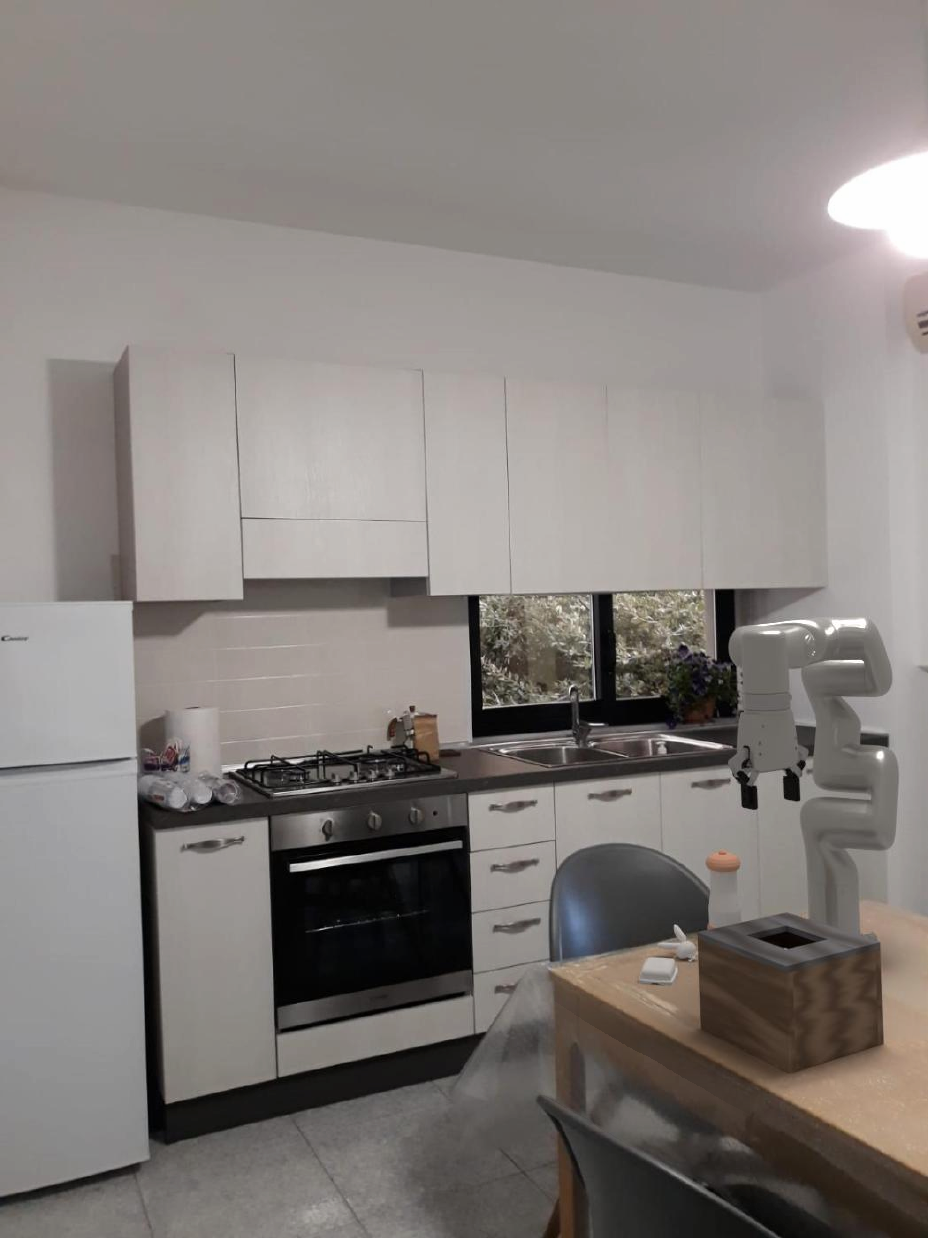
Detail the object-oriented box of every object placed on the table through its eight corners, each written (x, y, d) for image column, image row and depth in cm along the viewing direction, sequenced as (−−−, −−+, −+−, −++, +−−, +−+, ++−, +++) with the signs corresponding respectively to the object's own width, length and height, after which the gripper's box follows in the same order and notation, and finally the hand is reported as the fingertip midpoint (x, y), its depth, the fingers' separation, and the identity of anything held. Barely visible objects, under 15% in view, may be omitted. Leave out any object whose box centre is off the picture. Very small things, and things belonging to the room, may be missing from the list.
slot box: (789, 1003, 184) (786, 912, 183) (883, 1043, 166) (880, 942, 166) (700, 1028, 174) (697, 932, 174) (790, 1073, 157) (786, 966, 156)
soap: (644, 969, 205) (643, 954, 205) (679, 971, 203) (679, 956, 203) (636, 985, 196) (636, 969, 196) (673, 988, 194) (673, 972, 194)
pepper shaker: (719, 934, 224) (716, 844, 223) (750, 941, 218) (747, 849, 218) (701, 942, 218) (697, 850, 218) (731, 950, 213) (728, 855, 213)
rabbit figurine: (684, 966, 205) (654, 940, 210) (686, 975, 208) (656, 950, 213) (705, 945, 207) (674, 920, 212) (706, 955, 210) (676, 930, 215)
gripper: (787, 696, 184) (791, 794, 184) (712, 706, 175) (716, 808, 176) (820, 699, 177) (825, 800, 178) (744, 709, 169) (749, 815, 169)
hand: (771, 804), depth 177 cm, fingers open, 9 cm apart
